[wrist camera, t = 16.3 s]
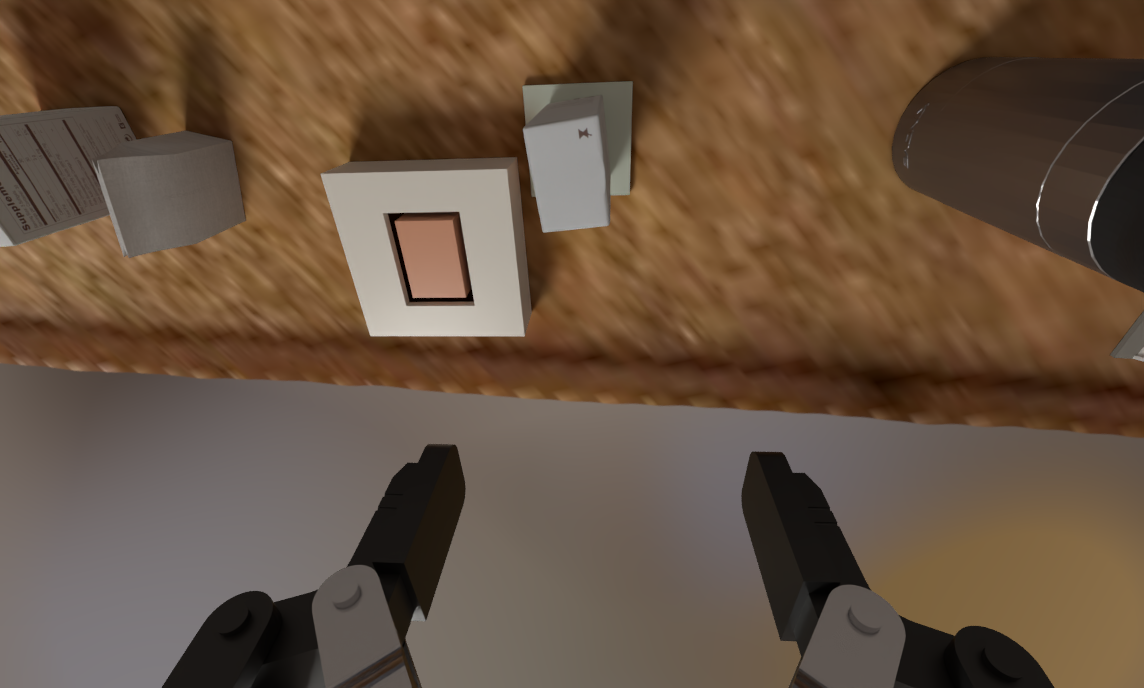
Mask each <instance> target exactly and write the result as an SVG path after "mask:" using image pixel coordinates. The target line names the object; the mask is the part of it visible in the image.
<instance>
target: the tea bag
mask: <svg viewBox="0 0 1144 688" xmlns="http://www.w3.org/2000/svg"><path fill="white" fill-rule="evenodd" d="M92 162H93V165H94V168H95V171H96V174H97V177H98V180H99V183H100V186H101V189H102V192H103V195H104V198H105V201H106V204H107V207H108V210H109V213H110V216H111V219H112V222H113V225H114V228H115V231H116V234H117V237H118V240H119V243H120V246H121V249H122V252H123V255H124V257H125V256H126V255H128V257H129V258H131V257H134V256H138V255H141V254H146V253H150V252H155V251H160V250H165V249H170V248H175V247H181V246H186V245H191V244H196V243H199V242H201V241H203V240H205V239H207V238H209V237H212V236H214V235H216V234H218V233H220V232H222V231H225V230H227V229H229V228H231V227H233V226H235V225H237V224H240V223H242V222H244V221H246V219H245V213H244V208H243V202H242V196H241V190H240V185H239V179H238V173H237V167H236V162H235V156H234V150H233V144H232V141H230V140H225V139H221V138H216V137H212V136H207V135H203V134H199V133H194V132H190V131H181V132H176V133H170V134H165V135H160V136H154V137H149V138H143V139H138V140H133V141H127V142H122V143H120V144H119V145H117V146H116V147H115V148H113V149H112V150H110V151H109V152H107V153H105V154H103V155H101V156H98V157H95V158H92Z"/></svg>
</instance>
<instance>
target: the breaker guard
mask: <svg viewBox="0 0 1144 688" xmlns="http://www.w3.org/2000/svg"><path fill="white" fill-rule="evenodd" d="M321 177H322V180H323V184H324V187H325V190H326V193H327V197H328V200H329V203H330V206H331V210H332V213H333V216H334V219H335V223H336V226H337V229H338V232H339V236H340V239H341V242H342V245H343V249H344V252H345V255H346V258H347V262H348V265H349V268H350V271H351V275H352V278H353V281H354V284H355V287H356V291H357V294H358V297H359V300H360V304H361V307H362V310H363V313H364V317H365V320H366V323H367V326H368V330H369V333H370V336H525V333H526V330H527V326H528V323H529V320H530V316H531V313H532V310H531V299H530V289H529V278H528V267H527V257H526V246H525V235H524V225H523V214H522V203H521V193H520V182H519V171H518V161H517V157H506V158H471V159H435V160H399V161H363V162H348V163H345V164H343V165H340V166H338V167H336V168H333V169H331V170H328V171H326V172H324V173H321ZM420 212H459V213H460V219H461V225H462V231H463V237H464V244H465V250H466V256H467V262H468V268H469V274H470V280H471V286H472V292H473V298H474V302H409V298H408V294H407V290H406V286H405V281H404V277H403V273H402V269H401V265H400V261H399V257H398V253H397V249H396V245H395V241H394V237H393V233H392V229H391V225H390V220H389V216H388V213H420Z"/></svg>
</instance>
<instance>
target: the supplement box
mask: <svg viewBox="0 0 1144 688" xmlns="http://www.w3.org/2000/svg"><path fill="white" fill-rule="evenodd" d="M133 140H136V138H135V136H134V134H133V132H132V130H131V128H130V126H129V124H128V122H127V121H126V119H125V117H124V115H123V113H122V111H121V109H120V108H119V107H118V106H104V107H84V108H67V109H57V110H47V111H38V112H29V113H20V114H11V115H2V116H0V247H5V246H16V245H19V244H22V243H25V242H28V241H31V240H34V239H37V238H40V237H43V236H46V235H49V234H52V233H55V232H58V231H62V230H65V229H68V228H71V227H74V226H77V225H81V224H84V223H87V222H90V221H93V220H96V219H99V218H102V217H105V216H108V215H110V213H109V210H108V207H107V204H106V201H105V198H104V195H103V192H102V189H101V186H100V183H99V180H98V177H97V174H96V171H95V168H94V165H93V162H92V158H95V157H98V156H101V155H103V154H105V153H107V152H109V151H110V150H112V149H113V148H115V147H116V146H117V145H119V144H120V143H122V142H127V141H133Z"/></svg>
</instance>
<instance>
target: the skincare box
mask: <svg viewBox="0 0 1144 688" xmlns="http://www.w3.org/2000/svg"><path fill="white" fill-rule="evenodd" d="M523 133H524V139H525V145H526V151H527V156H528V162H529V167H530V172H531V176H532V181H533V185H534V190H535V195H536V200H537V205H538V211H539V216H540V221H541V226H542V231H543V232H544V233H545V232H554V231H564V230H573V229H583V228H592V227H601V226H608V225H609V224H610V179H611V175H610V161H609V151H608V141H607V131H606V122H605V113H604V104H603V96H602V95H598V96H591V97H584V98H578V99H572V100H566V101H561V102H555V103H549V104H547V105H546V106H545V107H544V108H543V109H542V110H541V111H540V112H539V113H538V114H537V115H536V116H535V117H534V118H533V119H532V120H531V121H530V122H529V123H528V124H526V125H525V126H524V128H523Z"/></svg>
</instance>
